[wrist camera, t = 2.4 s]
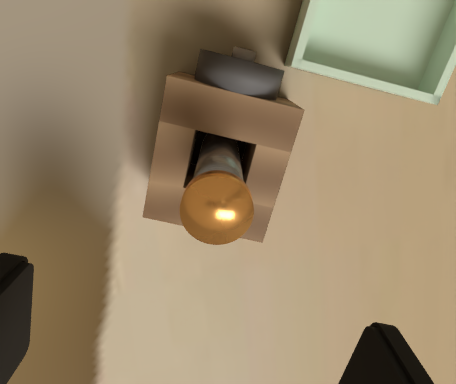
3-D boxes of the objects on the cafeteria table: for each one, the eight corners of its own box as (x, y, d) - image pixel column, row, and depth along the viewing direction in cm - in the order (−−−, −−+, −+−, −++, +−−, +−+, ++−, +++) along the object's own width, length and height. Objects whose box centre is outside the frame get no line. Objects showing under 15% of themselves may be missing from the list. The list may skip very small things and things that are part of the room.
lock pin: (203, 119, 29) (187, 168, 16) (246, 130, 29) (262, 186, 16) (194, 160, 30) (173, 236, 17) (235, 170, 30) (243, 251, 18)
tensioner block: (185, 35, 26) (174, 29, 21) (298, 65, 27) (318, 66, 22) (157, 188, 31) (142, 217, 25) (255, 209, 32) (262, 242, 26)
